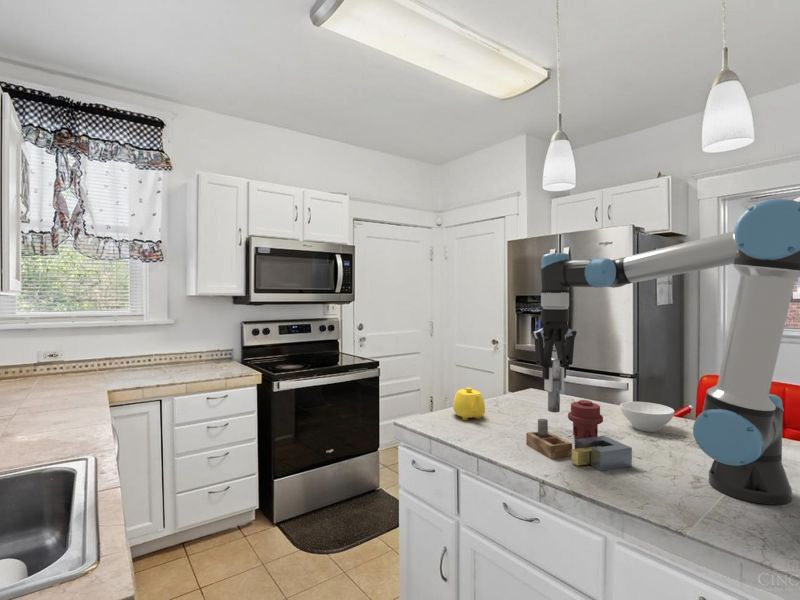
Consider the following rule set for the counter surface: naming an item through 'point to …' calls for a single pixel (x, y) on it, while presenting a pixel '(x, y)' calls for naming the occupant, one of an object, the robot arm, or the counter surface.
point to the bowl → (647, 415)
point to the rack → (548, 442)
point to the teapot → (469, 404)
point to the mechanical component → (585, 419)
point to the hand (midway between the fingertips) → (554, 389)
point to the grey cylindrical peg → (555, 387)
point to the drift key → (581, 456)
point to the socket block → (606, 452)
